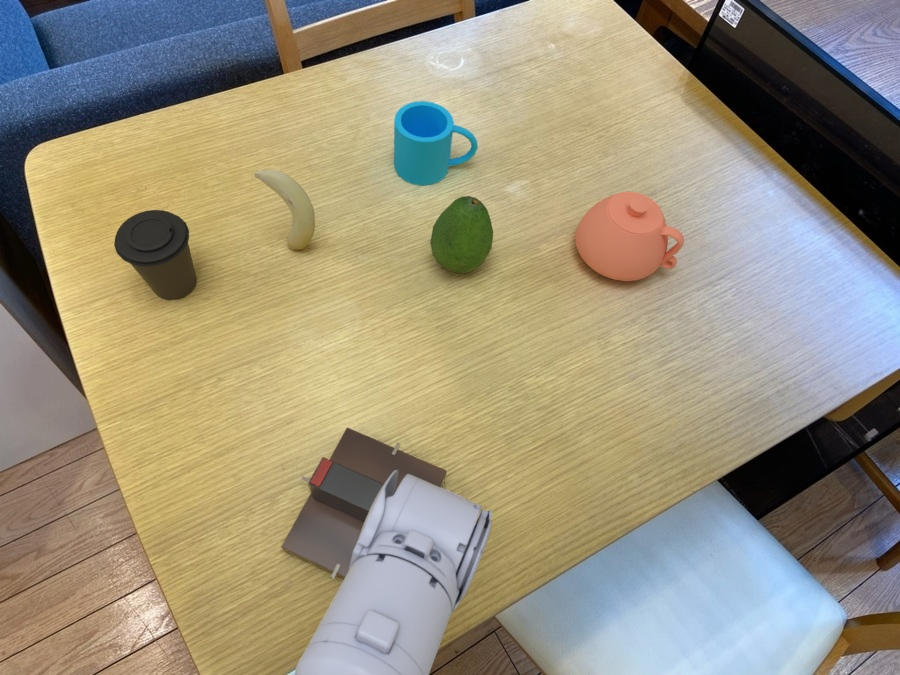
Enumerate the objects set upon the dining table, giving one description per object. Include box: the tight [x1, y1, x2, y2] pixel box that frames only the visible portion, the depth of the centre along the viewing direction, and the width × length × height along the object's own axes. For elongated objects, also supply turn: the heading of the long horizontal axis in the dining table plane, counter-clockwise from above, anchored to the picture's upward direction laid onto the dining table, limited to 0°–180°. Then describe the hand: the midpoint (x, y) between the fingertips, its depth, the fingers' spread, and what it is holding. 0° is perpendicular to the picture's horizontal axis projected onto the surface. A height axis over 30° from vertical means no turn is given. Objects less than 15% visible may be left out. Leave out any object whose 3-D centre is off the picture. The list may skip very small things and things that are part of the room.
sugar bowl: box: [574, 191, 685, 282], centre depth 83 cm, size 12×14×10 cm
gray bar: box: [307, 456, 396, 522], centre depth 62 cm, size 11×3×5 cm, turn 67°
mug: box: [393, 100, 479, 186], centre depth 90 cm, size 12×8×8 cm
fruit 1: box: [254, 169, 316, 250], centre depth 78 cm, size 6×12×3 cm
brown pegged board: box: [280, 427, 448, 580], centre depth 66 cm, size 15×15×2 cm
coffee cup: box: [113, 209, 198, 301], centre depth 75 cm, size 8×8×10 cm
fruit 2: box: [429, 195, 494, 274], centre depth 79 cm, size 8×8×12 cm
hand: (411, 597), depth 55 cm, fingers open, 7 cm apart
